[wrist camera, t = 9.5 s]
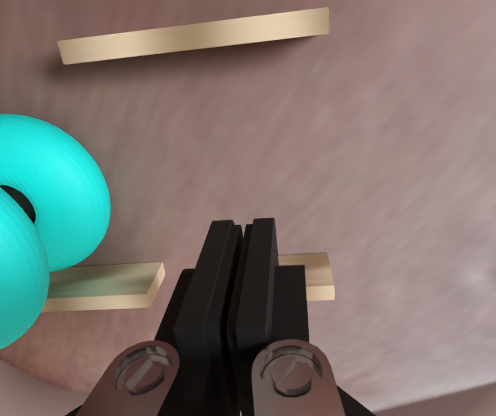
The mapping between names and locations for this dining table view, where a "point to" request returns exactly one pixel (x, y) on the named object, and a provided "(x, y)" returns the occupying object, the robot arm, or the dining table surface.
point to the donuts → (43, 215)
